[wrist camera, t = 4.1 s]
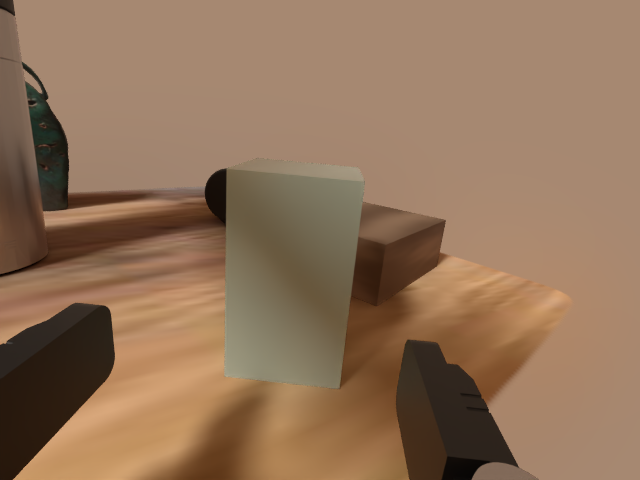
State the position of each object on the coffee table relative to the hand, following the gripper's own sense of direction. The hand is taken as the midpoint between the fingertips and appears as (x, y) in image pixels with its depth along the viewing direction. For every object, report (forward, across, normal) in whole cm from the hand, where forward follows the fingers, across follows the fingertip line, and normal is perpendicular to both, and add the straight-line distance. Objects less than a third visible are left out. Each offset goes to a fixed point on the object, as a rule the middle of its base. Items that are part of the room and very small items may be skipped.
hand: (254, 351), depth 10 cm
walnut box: (+24, -4, +6) cm, 25 cm away
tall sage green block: (+9, 0, +6) cm, 11 cm away
